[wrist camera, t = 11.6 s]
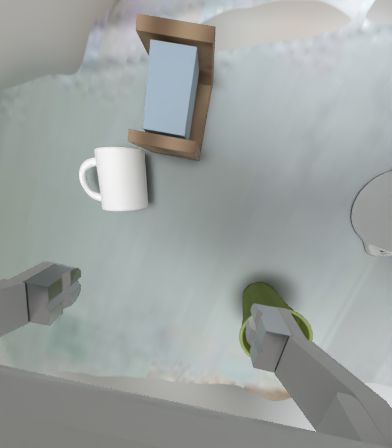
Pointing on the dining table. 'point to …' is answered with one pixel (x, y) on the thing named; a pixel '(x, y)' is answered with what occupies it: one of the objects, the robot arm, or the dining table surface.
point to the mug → (118, 178)
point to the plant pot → (268, 297)
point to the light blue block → (170, 89)
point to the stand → (205, 46)
